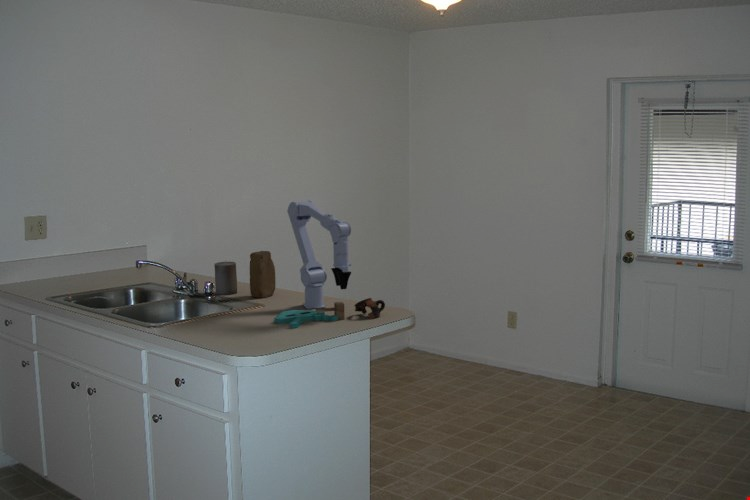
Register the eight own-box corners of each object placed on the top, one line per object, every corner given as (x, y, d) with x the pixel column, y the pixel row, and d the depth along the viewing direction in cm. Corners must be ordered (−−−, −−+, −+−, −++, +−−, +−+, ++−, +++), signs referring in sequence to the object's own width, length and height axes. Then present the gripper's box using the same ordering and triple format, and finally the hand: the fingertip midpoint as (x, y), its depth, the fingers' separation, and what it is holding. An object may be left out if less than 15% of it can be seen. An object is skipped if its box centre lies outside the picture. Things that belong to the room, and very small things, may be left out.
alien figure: (337, 321, 295) (309, 312, 310) (337, 315, 295) (308, 307, 310) (293, 329, 283) (265, 320, 298) (292, 323, 282) (265, 314, 298)
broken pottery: (364, 321, 294) (355, 302, 296) (358, 327, 303) (349, 308, 304) (391, 310, 298) (382, 291, 300) (385, 316, 307) (376, 297, 309)
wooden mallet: (315, 319, 297) (315, 303, 296) (342, 317, 300) (341, 301, 299) (317, 321, 293) (317, 305, 292) (344, 319, 296) (344, 304, 295)
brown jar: (259, 299, 336) (258, 253, 333) (248, 297, 340) (246, 252, 338) (278, 295, 344) (277, 250, 341) (266, 293, 349) (265, 249, 346)
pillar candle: (238, 290, 356) (236, 258, 354) (236, 294, 346) (235, 261, 344) (216, 291, 355) (214, 259, 353) (214, 295, 345) (212, 262, 343)
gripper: (355, 255, 298) (355, 290, 300) (346, 250, 312) (346, 283, 314) (337, 256, 296) (338, 291, 298) (329, 251, 310) (329, 284, 312)
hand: (341, 287), depth 306 cm, fingers open, 7 cm apart
